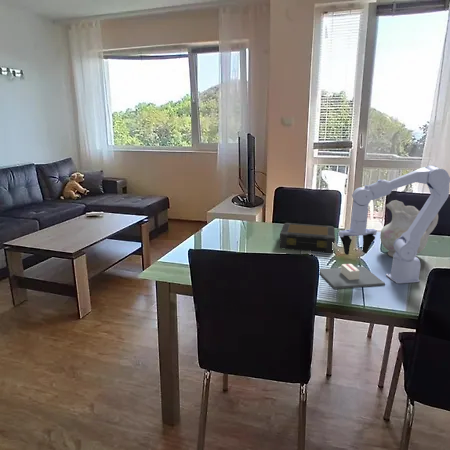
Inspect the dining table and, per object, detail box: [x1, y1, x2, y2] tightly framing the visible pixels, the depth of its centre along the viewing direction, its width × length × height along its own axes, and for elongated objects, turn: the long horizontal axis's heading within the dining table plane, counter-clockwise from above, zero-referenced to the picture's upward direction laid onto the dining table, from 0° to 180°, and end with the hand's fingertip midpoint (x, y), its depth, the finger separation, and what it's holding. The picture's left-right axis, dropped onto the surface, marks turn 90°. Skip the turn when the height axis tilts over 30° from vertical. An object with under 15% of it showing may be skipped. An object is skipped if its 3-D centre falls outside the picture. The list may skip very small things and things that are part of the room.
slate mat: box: [319, 265, 386, 290], centre depth 147 cm, size 20×16×1 cm
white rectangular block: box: [340, 263, 360, 280], centre depth 146 cm, size 7×4×4 cm, turn 9°
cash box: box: [278, 222, 336, 254], centre depth 183 cm, size 25×20×8 cm
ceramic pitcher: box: [379, 199, 439, 258], centre depth 166 cm, size 22×20×25 cm
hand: (355, 253), depth 146 cm, fingers open, 7 cm apart
